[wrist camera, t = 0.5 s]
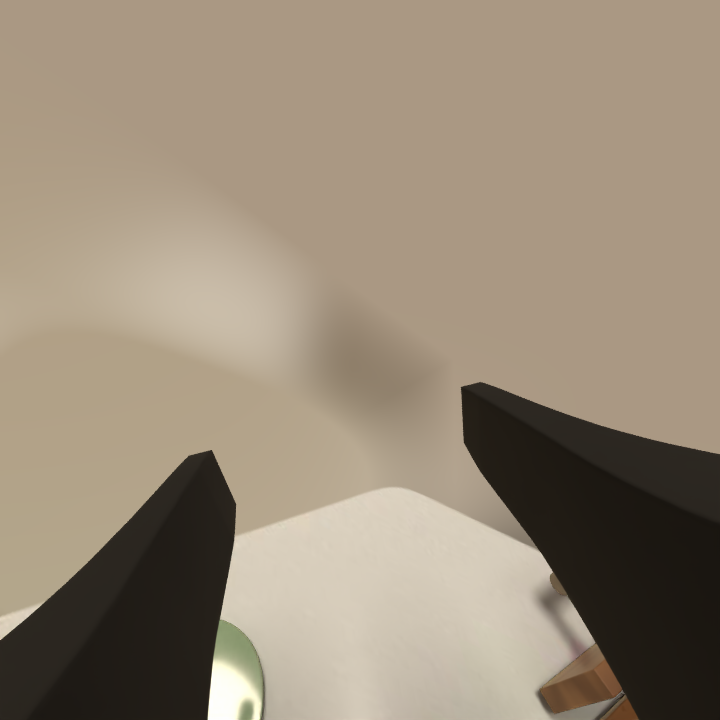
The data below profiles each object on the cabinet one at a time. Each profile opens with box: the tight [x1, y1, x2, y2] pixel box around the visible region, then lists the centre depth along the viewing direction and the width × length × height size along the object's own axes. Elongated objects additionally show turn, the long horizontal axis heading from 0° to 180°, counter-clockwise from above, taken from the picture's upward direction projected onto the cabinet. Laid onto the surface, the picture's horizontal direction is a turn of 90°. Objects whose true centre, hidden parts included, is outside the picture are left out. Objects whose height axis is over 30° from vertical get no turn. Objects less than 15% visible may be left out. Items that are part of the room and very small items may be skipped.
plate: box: [208, 620, 264, 720], centre depth 19 cm, size 8×8×1 cm
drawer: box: [540, 572, 639, 720], centre depth 20 cm, size 15×12×6 cm
